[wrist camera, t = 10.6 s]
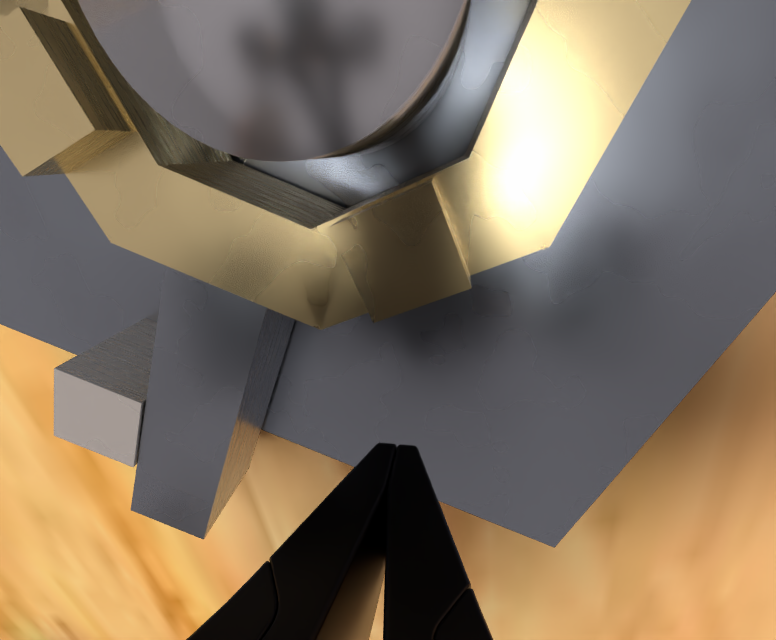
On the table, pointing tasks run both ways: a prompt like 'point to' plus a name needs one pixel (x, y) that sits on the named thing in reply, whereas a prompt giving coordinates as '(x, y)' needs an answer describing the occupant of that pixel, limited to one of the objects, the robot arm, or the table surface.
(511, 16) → the cap plate
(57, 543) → the table surface
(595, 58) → the ring nut
